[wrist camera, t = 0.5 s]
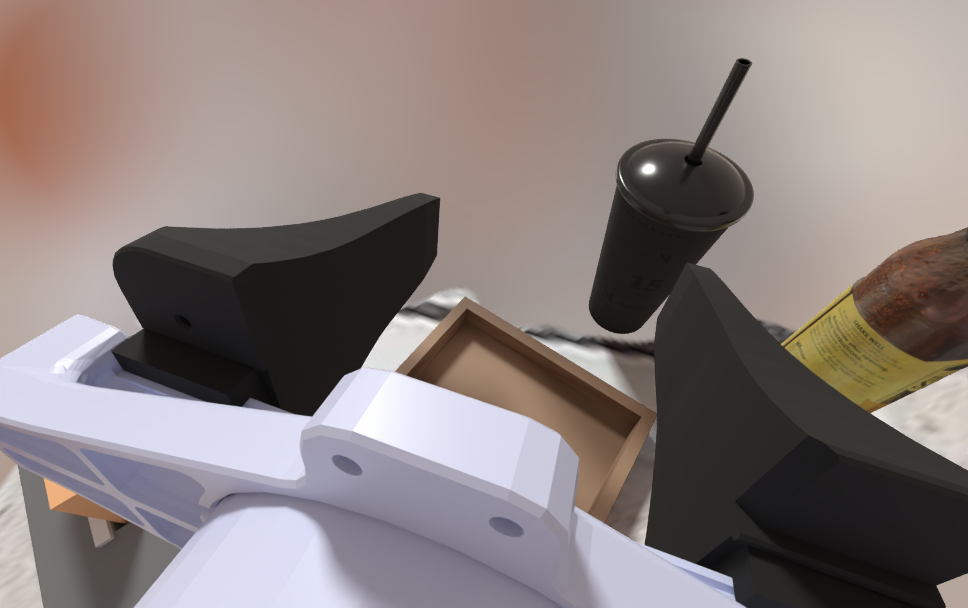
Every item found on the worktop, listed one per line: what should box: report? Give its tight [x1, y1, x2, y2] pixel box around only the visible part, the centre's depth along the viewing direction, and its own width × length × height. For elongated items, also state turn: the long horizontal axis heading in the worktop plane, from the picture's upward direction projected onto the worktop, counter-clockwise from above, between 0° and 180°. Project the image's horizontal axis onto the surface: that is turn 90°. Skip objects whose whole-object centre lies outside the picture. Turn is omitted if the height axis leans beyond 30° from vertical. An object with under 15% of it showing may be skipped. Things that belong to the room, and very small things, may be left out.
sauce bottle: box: [781, 228, 968, 413], centre depth 23 cm, size 7×6×20 cm
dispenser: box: [18, 336, 181, 608], centre depth 25 cm, size 18×9×4 cm, turn 39°
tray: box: [395, 297, 657, 523], centre depth 27 cm, size 16×16×2 cm
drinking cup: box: [589, 58, 754, 334], centre depth 27 cm, size 8×8×20 cm
